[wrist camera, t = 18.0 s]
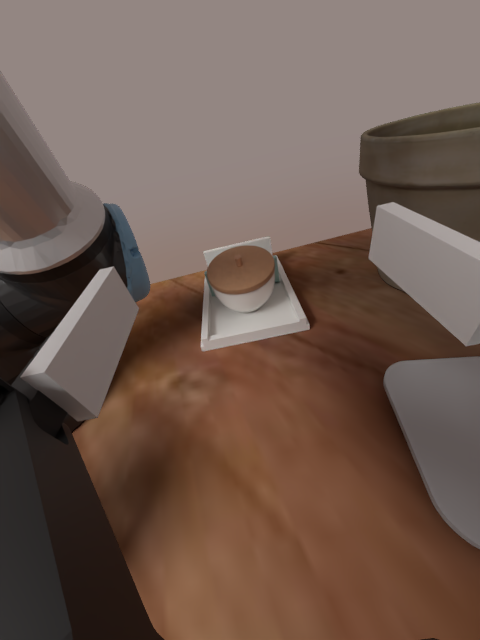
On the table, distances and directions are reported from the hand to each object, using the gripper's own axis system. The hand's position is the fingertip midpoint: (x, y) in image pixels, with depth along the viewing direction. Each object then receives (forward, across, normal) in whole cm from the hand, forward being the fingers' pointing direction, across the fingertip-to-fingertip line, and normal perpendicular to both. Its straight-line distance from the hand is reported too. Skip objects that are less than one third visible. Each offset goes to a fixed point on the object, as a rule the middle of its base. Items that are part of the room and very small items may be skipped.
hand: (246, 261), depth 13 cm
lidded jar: (+24, -1, -20) cm, 31 cm away
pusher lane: (+26, -1, -21) cm, 34 cm away
